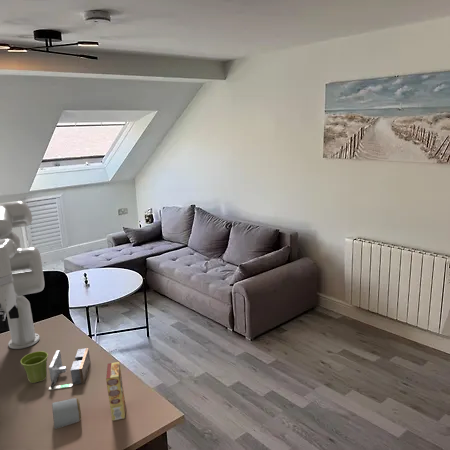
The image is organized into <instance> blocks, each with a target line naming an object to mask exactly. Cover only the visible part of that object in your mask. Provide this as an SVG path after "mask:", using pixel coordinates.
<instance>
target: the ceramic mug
mask: <svg viewBox="0 0 450 450" xmlns="http://www.w3.org/2000/svg"><path fill="white" fill-rule="evenodd" d="M51 407H52V408H51V409H52V416H53V427H54V429H55V430H57V429H60V428H64V427H66V426H69V425H72V424H76V423H78V422H80V421H81V419H82V413H81V412H82V410H81V405H80V399H79V398H76V397H74V398H69V399H64V400H60V401H55V402H52V403H51Z"/></svg>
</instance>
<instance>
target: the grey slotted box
mask: <svg viewBox="0 0 450 450" xmlns="http://www.w3.org/2000/svg"><path fill="white" fill-rule="evenodd" d="M74 359H75V360H73V362H72V365H71V368H70V374H71V375H70V376H71V382H72V383H68V384H67V383H66V384H60V385H53V387H52V388H51V386H49V387H48V391H54V390H63V389H68V388H73V386H74V385H81V384H85V383H86V382H85V381H86V378H87V375H88V371H89V368H90V365H91V355H90V350H89V347H85V348H78V349H77V351H76V354H75V357H74Z"/></svg>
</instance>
